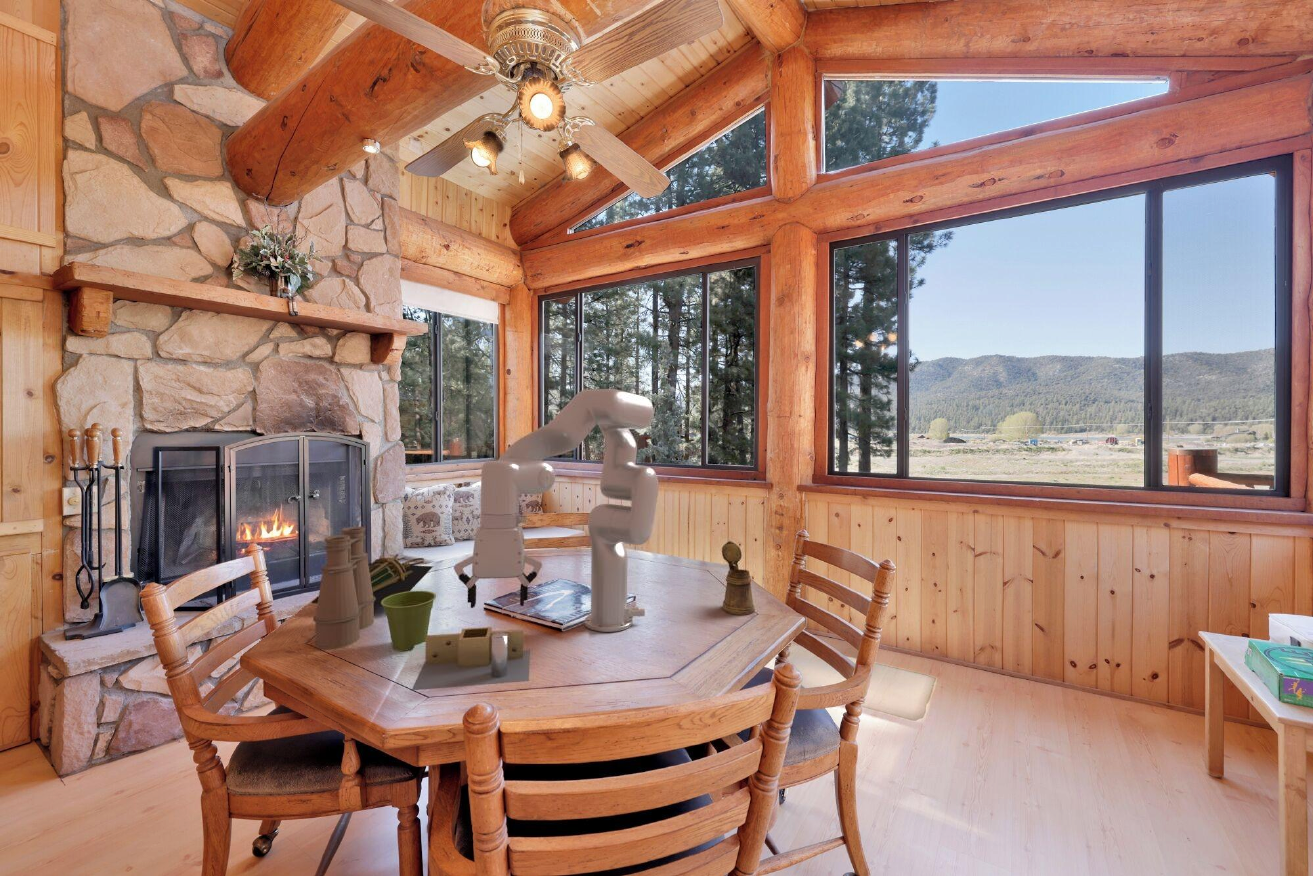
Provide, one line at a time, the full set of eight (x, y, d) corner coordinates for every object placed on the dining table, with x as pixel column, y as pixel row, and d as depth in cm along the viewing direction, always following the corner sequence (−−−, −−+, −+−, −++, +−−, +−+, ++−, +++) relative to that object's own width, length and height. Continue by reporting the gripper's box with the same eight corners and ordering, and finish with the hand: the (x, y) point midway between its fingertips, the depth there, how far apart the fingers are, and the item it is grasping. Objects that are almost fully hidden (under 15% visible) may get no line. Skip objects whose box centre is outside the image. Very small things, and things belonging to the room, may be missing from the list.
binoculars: (352, 648, 128) (352, 541, 127) (305, 650, 126) (305, 542, 126) (380, 617, 148) (380, 524, 148) (340, 618, 147) (340, 525, 146)
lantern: (312, 626, 152) (370, 568, 180) (395, 636, 151) (440, 577, 180) (308, 583, 148) (368, 531, 176) (394, 593, 147) (440, 540, 176)
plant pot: (396, 635, 136) (396, 589, 136) (444, 636, 136) (444, 591, 136) (370, 655, 124) (370, 606, 124) (422, 657, 124) (422, 607, 124)
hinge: (523, 651, 125) (523, 625, 125) (522, 663, 119) (523, 635, 119) (428, 657, 121) (428, 630, 121) (422, 670, 115) (422, 641, 115)
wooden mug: (742, 599, 168) (743, 540, 168) (759, 614, 155) (760, 550, 154) (714, 600, 166) (715, 541, 166) (728, 616, 153) (729, 551, 153)
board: (530, 655, 126) (530, 650, 126) (528, 686, 111) (528, 680, 111) (427, 662, 121) (427, 657, 121) (411, 696, 106) (411, 690, 106)
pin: (507, 669, 116) (508, 632, 115) (506, 676, 112) (507, 638, 112) (491, 671, 115) (492, 633, 115) (490, 678, 112) (490, 639, 112)
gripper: (542, 518, 118) (541, 597, 118) (457, 518, 115) (456, 601, 115) (543, 524, 111) (541, 609, 111) (452, 525, 107) (450, 612, 107)
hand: (497, 604), depth 113 cm, fingers open, 9 cm apart
